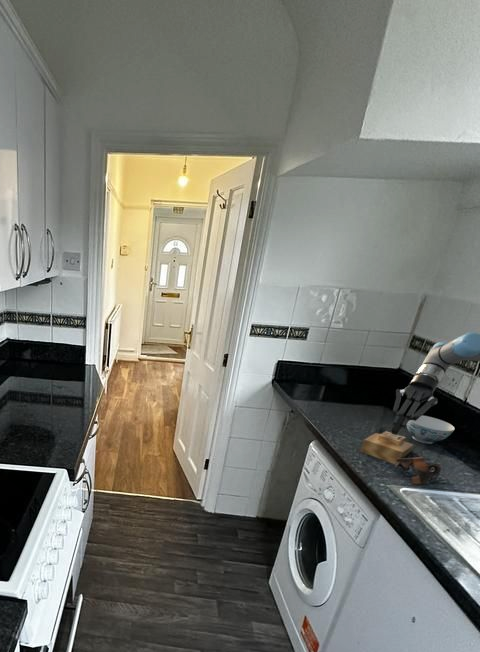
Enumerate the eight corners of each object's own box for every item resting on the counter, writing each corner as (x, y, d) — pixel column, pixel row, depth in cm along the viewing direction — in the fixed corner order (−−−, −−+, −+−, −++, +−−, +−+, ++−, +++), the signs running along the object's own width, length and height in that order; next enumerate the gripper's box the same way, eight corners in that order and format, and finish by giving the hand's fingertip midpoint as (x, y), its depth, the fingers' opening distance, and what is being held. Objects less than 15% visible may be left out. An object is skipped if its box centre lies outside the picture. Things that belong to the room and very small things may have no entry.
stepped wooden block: (408, 457, 147) (415, 439, 144) (397, 465, 140) (405, 447, 138) (371, 445, 155) (377, 428, 153) (359, 452, 149) (365, 434, 146)
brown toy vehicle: (402, 485, 129) (399, 458, 130) (390, 483, 138) (387, 458, 139) (448, 483, 126) (445, 456, 126) (433, 481, 135) (429, 456, 135)
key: (398, 440, 147) (400, 436, 146) (395, 443, 145) (396, 438, 144) (387, 437, 149) (388, 432, 149) (383, 439, 147) (385, 435, 146)
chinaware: (398, 429, 171) (405, 411, 168) (442, 439, 165) (451, 421, 162) (401, 441, 160) (409, 423, 156) (449, 453, 153) (458, 434, 150)
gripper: (447, 390, 147) (415, 444, 144) (405, 381, 156) (374, 431, 153) (449, 378, 142) (415, 433, 139) (405, 369, 151) (373, 420, 148)
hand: (394, 432), depth 146 cm, fingers closed
